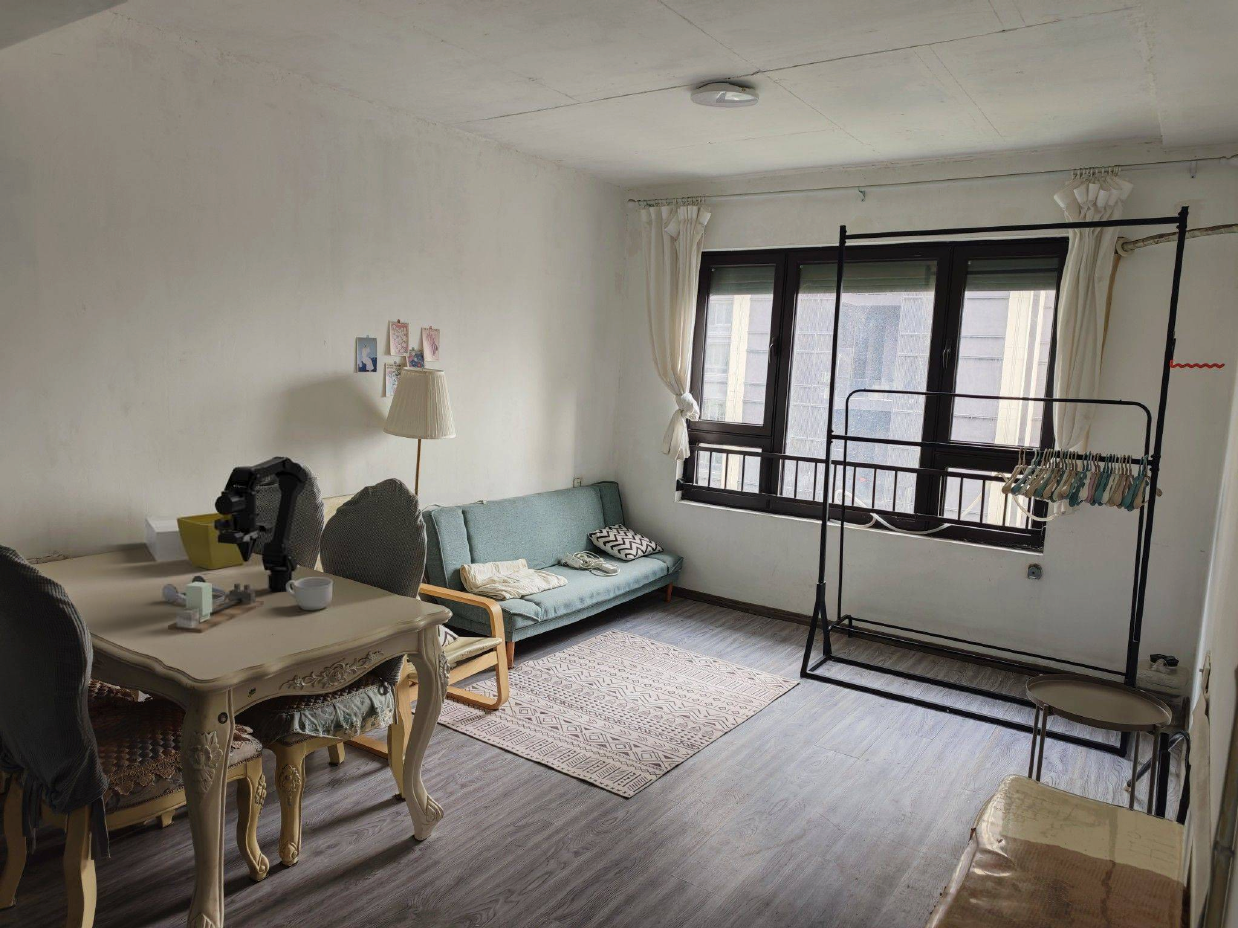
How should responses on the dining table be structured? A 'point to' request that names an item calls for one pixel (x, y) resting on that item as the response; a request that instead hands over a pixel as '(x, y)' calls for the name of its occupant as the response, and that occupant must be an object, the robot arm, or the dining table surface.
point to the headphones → (172, 595)
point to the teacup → (311, 592)
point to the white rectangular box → (164, 538)
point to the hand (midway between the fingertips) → (246, 561)
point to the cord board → (217, 611)
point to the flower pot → (207, 542)
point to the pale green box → (200, 598)
